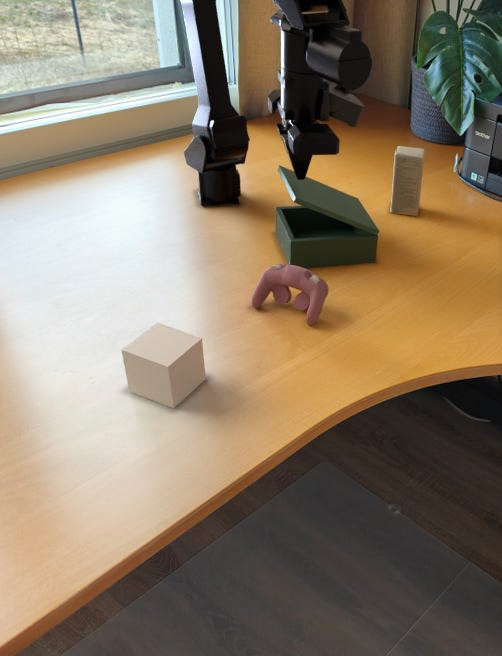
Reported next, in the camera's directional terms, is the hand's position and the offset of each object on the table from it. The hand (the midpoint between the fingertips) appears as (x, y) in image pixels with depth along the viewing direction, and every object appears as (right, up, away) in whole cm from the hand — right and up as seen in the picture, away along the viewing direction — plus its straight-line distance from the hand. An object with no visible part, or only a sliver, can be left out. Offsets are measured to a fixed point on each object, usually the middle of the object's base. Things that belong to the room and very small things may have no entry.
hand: (300, 178), depth 98 cm
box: (+15, +1, +23) cm, 28 cm away
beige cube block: (-12, -30, -21) cm, 38 cm away
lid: (+3, -3, +4) cm, 6 cm away
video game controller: (0, -20, -6) cm, 21 cm away
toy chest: (+2, -9, +9) cm, 13 cm away
